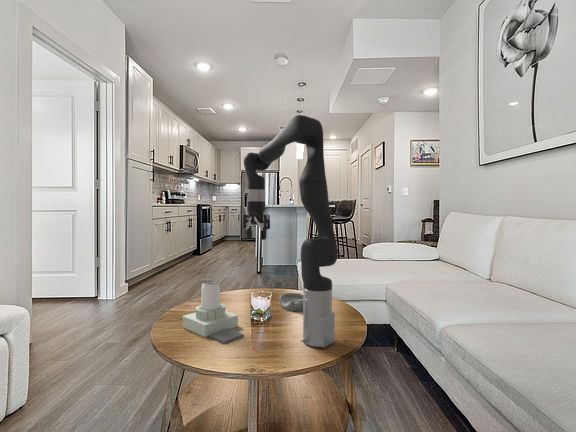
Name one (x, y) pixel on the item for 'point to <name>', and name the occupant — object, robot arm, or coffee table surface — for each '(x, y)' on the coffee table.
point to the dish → (291, 301)
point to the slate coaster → (226, 335)
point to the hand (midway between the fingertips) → (256, 239)
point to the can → (210, 295)
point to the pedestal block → (210, 321)
